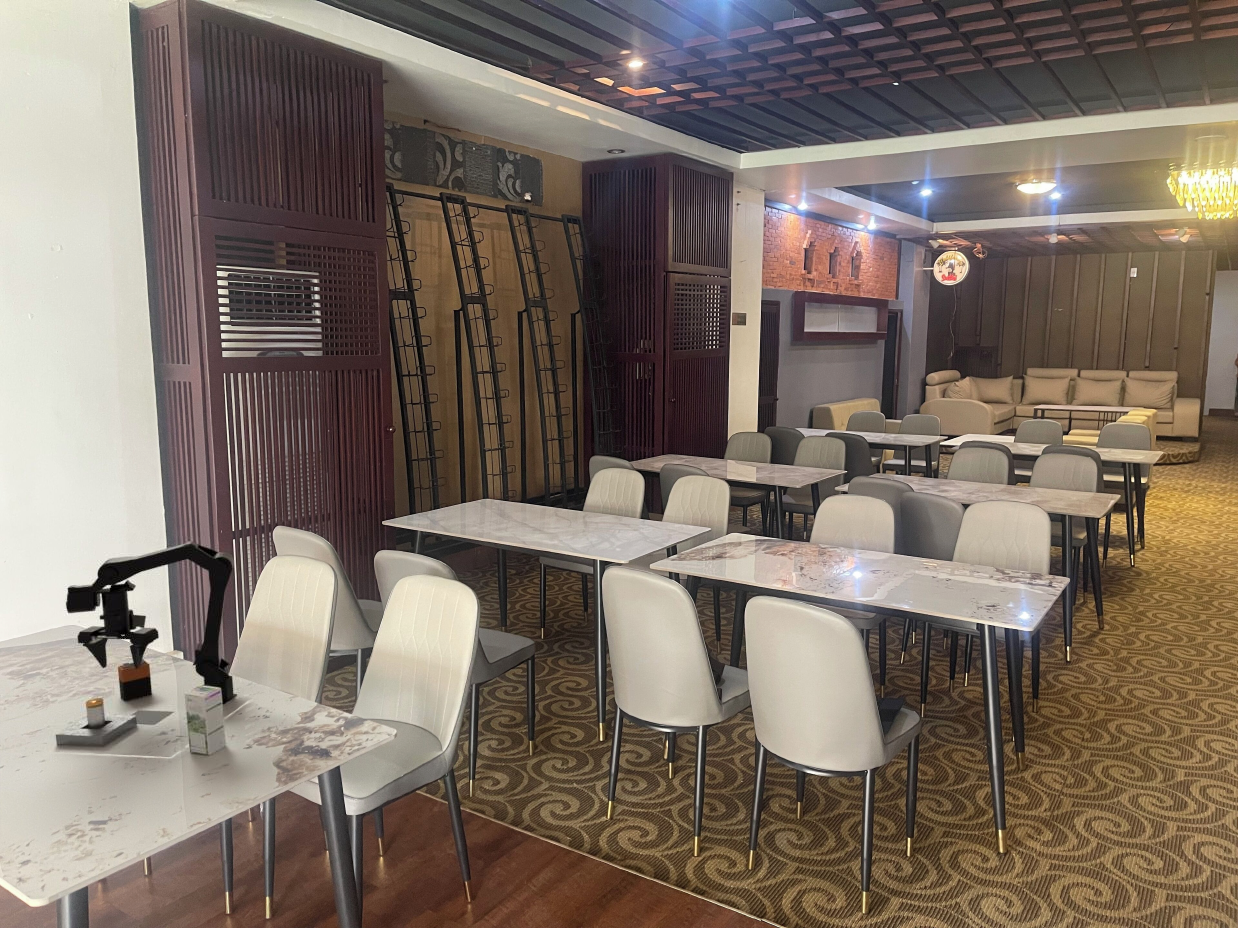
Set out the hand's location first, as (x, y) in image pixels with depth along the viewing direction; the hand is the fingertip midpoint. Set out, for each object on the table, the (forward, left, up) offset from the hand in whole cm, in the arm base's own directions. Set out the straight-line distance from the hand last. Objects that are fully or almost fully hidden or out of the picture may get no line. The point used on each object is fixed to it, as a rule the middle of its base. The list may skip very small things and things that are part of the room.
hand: (121, 667), depth 230 cm
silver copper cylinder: (-3, +14, -12) cm, 19 cm away
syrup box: (-34, +18, -12) cm, 40 cm away
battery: (+4, -10, -12) cm, 16 cm away
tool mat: (-8, +3, -12) cm, 15 cm away
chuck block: (-3, +14, -12) cm, 19 cm away
